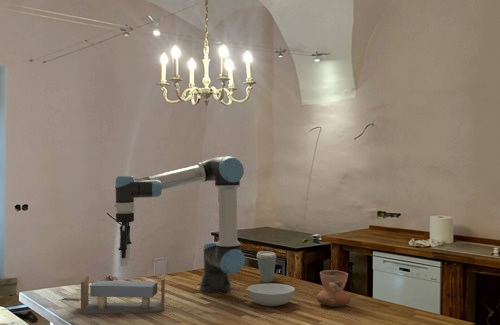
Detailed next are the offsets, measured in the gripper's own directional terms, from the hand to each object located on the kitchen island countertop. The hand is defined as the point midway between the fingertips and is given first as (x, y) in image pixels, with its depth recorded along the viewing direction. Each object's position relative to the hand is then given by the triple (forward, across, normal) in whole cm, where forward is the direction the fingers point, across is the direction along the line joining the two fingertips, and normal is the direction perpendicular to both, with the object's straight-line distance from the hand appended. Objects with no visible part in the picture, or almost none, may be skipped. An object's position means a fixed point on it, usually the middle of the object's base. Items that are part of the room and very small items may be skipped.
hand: (125, 262), depth 218 cm
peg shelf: (+19, 0, -1) cm, 19 cm away
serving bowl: (+21, 0, +62) cm, 66 cm away
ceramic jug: (+21, +5, +89) cm, 92 cm away
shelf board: (+13, 0, 0) cm, 13 cm away
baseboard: (+20, -31, -22) cm, 43 cm away
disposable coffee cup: (+21, -44, +68) cm, 84 cm away
